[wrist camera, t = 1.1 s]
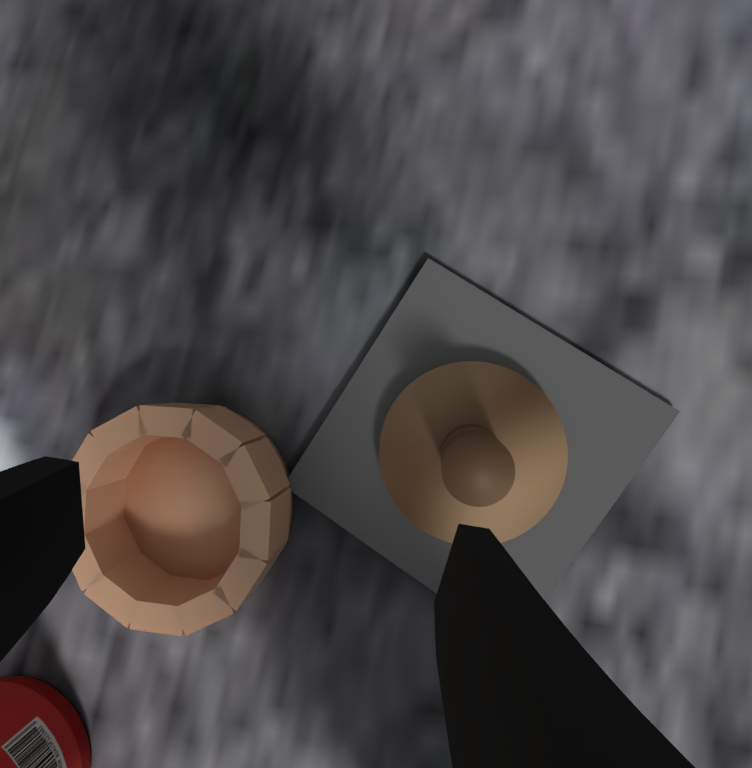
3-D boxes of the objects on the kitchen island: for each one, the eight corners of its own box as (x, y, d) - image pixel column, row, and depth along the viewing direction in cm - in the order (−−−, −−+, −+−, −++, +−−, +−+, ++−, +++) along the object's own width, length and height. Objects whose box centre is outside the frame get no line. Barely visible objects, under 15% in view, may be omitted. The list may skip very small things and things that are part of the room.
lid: (599, 425, 18) (648, 439, 14) (497, 574, 19) (513, 632, 15) (442, 328, 19) (442, 312, 15) (349, 474, 20) (323, 499, 16)
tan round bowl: (332, 475, 20) (313, 492, 17) (229, 634, 21) (192, 679, 18) (175, 365, 21) (129, 363, 18) (81, 522, 22) (22, 545, 19)
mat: (674, 410, 18) (680, 411, 18) (509, 641, 19) (511, 647, 19) (428, 260, 20) (428, 257, 19) (285, 483, 21) (283, 485, 20)
